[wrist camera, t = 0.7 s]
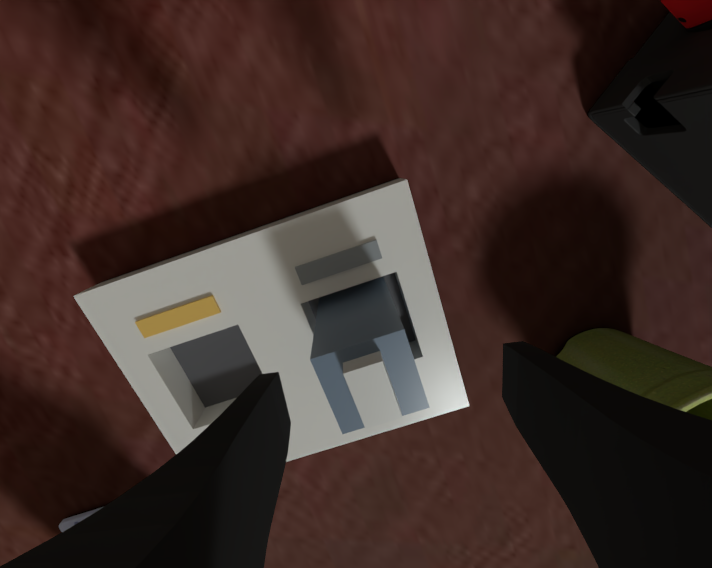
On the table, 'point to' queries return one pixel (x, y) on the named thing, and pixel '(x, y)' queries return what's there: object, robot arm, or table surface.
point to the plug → (365, 358)
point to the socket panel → (273, 317)
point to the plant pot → (642, 369)
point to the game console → (668, 104)
